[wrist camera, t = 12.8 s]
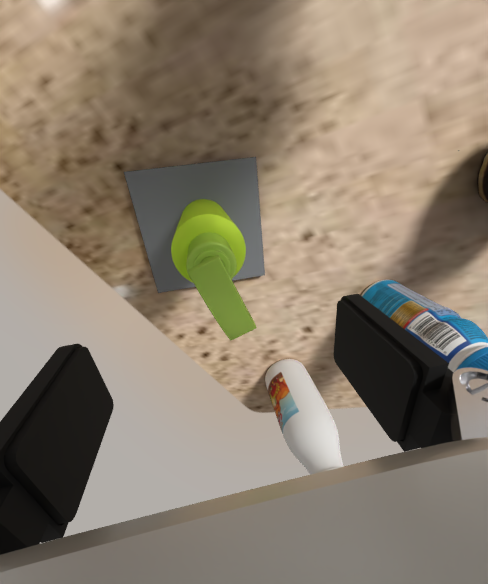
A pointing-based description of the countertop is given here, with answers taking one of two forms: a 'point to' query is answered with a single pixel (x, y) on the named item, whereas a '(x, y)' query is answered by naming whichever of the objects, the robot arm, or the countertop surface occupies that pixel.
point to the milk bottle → (303, 416)
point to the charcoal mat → (181, 192)
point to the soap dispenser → (213, 262)
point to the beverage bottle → (432, 324)
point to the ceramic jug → (483, 180)
